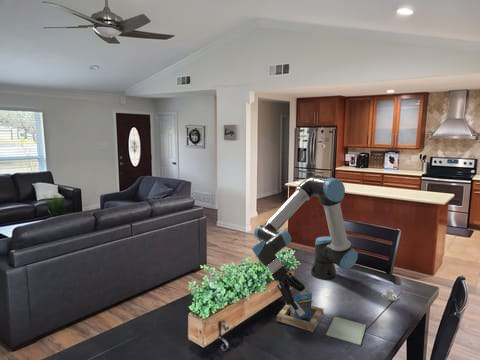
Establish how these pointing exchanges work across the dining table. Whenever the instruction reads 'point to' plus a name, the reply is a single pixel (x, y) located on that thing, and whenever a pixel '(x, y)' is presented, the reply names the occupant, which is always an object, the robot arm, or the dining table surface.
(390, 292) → the teacup and saucer
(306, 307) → the label tape box
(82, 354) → the dining table surface
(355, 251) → the robot arm
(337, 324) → the sage board
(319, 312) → the oak socket frame
